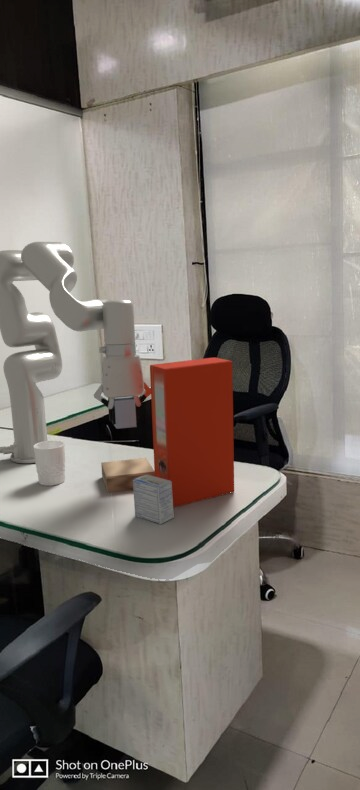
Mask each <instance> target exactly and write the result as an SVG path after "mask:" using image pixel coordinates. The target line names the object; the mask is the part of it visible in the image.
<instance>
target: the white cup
mask: <svg viewBox="0 0 360 790" xmlns="http://www.w3.org/2000/svg"><path fill="white" fill-rule="evenodd" d="M33 447H34V455H35V462H36V463H35V468H36V473H37V479H38V481H37V482H38V483H39V485H41V486H48V487H49V486H57V485H60V484H63V483H64V482H65V481H66V450H65V449H66V448H65V442H64V441H61V440H47V441H45V442H40V443H37V444H35V445H34V446H33Z"/></svg>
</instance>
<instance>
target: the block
mask: <svg viewBox="0 0 360 790" xmlns="http://www.w3.org/2000/svg"><path fill="white" fill-rule="evenodd" d="M113 406H114V409H115V420H116V424H115V425H114V427H115V429H117V430H118V429H127V428H129V429H130V428H137V427H138V426H137V422H136V409H135V399H134V398H133V397H132V396H131V397H119V398H115V400H114V404H113Z"/></svg>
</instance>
